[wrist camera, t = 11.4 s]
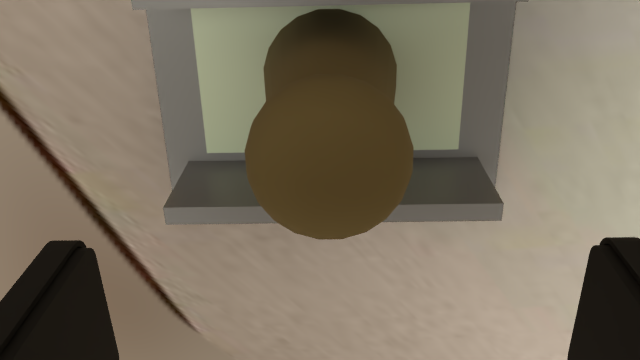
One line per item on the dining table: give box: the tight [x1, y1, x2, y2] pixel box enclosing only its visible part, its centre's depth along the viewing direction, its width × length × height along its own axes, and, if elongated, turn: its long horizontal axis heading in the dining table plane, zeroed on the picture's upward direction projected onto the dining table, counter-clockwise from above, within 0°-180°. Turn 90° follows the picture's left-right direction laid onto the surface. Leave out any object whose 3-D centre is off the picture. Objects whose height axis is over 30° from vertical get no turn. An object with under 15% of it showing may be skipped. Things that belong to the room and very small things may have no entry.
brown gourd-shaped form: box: [245, 9, 414, 239], centre depth 22 cm, size 6×6×11 cm
